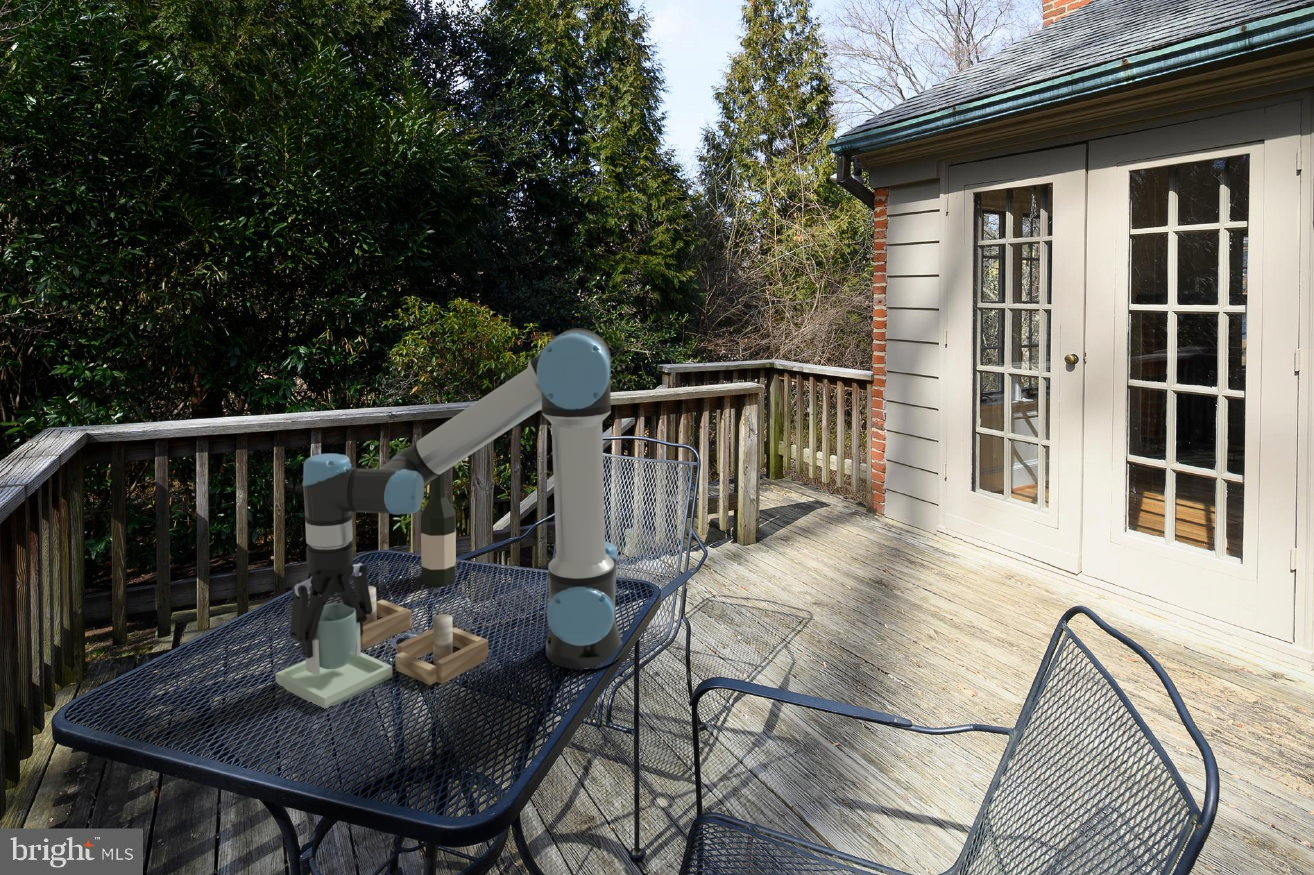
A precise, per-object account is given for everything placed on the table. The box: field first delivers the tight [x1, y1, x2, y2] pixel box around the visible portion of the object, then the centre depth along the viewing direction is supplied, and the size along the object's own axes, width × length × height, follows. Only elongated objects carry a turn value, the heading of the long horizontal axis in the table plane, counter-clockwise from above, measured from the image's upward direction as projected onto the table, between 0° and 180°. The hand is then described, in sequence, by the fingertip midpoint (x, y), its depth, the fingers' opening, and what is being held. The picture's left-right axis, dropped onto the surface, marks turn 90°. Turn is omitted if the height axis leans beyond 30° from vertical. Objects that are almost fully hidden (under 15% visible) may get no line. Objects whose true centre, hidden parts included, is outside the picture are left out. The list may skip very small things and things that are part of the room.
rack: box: [360, 585, 489, 686], centre depth 157 cm, size 34×15×9 cm, turn 58°
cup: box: [314, 602, 357, 669], centre depth 142 cm, size 8×8×10 cm
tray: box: [274, 652, 393, 710], centre depth 144 cm, size 14×14×2 cm
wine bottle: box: [420, 471, 457, 587], centre depth 188 cm, size 8×8×30 cm
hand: (334, 662), depth 143 cm, fingers closed on cup, 8 cm apart
